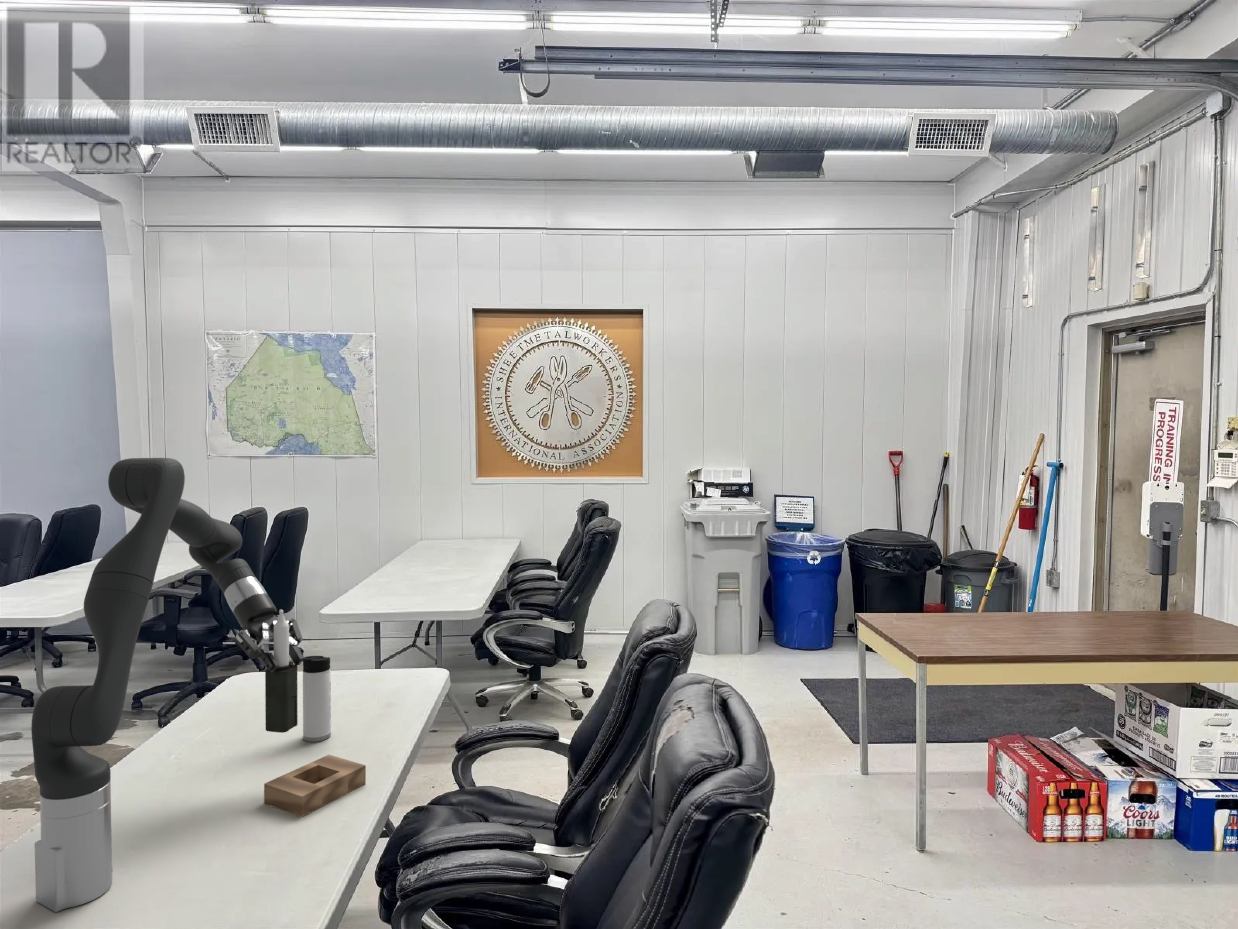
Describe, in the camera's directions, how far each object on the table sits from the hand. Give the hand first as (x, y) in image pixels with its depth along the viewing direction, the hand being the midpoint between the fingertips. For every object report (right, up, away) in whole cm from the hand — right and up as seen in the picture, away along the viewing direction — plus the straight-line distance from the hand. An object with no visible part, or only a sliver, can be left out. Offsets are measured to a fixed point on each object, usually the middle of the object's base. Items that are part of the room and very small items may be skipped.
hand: (287, 666), depth 161 cm
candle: (-2, -13, +1) cm, 14 cm away
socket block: (+7, -25, -3) cm, 26 cm away
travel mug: (-4, -24, +26) cm, 36 cm away
